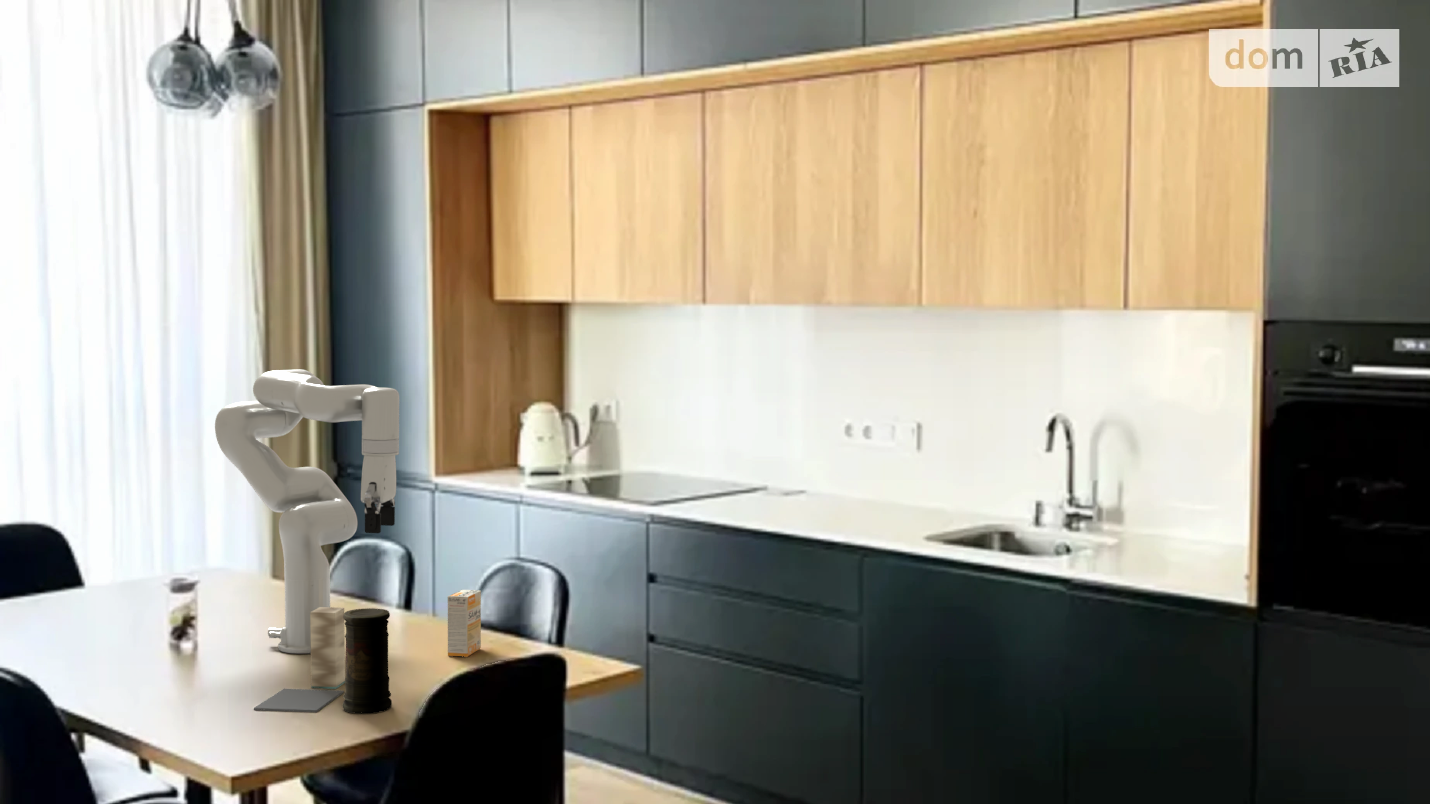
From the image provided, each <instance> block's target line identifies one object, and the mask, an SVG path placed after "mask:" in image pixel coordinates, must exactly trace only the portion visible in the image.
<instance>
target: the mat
mask: <svg viewBox="0 0 1430 804" xmlns="http://www.w3.org/2000/svg"><path fill="white" fill-rule="evenodd" d="M344 693H345V690H343V689H342V690H337V689H314V688H310V689H309V688H308V689H307V688H282V689H280V691H278V692H276V693H275V694H273V695H271V696H270V697H269V698H267V699H265V700H263V701H262V702H260V703H259V704H258V705H256V706H255V707H253V710H254V711H265V712H266V711H271V712H272V711H273V712H292V713H293V712H295V713H296V712H299V713H318V712H319V711H321V710H323V708H324V707H326V706H327V705H329V704H330V703H332V702H333V701H335V700H336V699H338V698H339V697H340V696H341V695H344Z"/></svg>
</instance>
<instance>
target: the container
mask: <svg viewBox="0 0 1430 804" xmlns="http://www.w3.org/2000/svg"><path fill="white" fill-rule="evenodd" d="M390 615H391V613H390V610H388V609H382V608H376V607H375V608H373V607H372V608H368V607H367V608H366V607H365V608H357V609H351V610H347V611H344V615H343V619H344V626H345V683H344V684H345V688H344V689H345V690H344V693H343V694H342V695H343V696H342V697H343V699H344V700H343V702H342V705H341V706H342V709H343V710H344V711H345V712H347V713H351V714H354V715H355V714H357V715H359V714H360V715H369V714H377V713H382V712H386V711H388V710H390V709H391V708H392V705H393V701H392V699H391V696H392V692H391V691H390V676H389V632H388V629H389V628H388V625H389V619H390V617H391V616H390Z"/></svg>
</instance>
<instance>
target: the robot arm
mask: <svg viewBox="0 0 1430 804" xmlns="http://www.w3.org/2000/svg"><path fill="white" fill-rule="evenodd" d="M252 392H253V393H252V394H253V396H254V397H255V400H248V401H239V402H234V403H231V404H228V405H226V406H224V407H223V408H221V409H220V410H219V411H218V413H217V414H216V417H215V423H214V430H215V438H216V440H217V441H216V442H217V444H218V445H219V448H220V451H222V453H223V455H225V457H226V458H227V459H228V461H229V462H230V463H232V465H233V466H234V467H235V468H237V470H238V471H239V472H240V473H241V474H242V476H243V477H244V478H245V479H246V481H247V482H248V483H249V485H250V486H251V488H252V489H253V490H254V491H255V493H256V494H257V495H258V497H259V498H260V499H261V501H262V503H264V504H265V506H266V507H267V508H268V509H269V510H271V511H272V512H274V513H281V515H280V517H279V520H278V533H279V538H280V542H281V547H282V553H283V554H282V555H283V565H284V567H283V570H284V571H283V573H284V574H283V575H284V626H283V627H282V628H279V627H269V628H268V630H267V636H268V637H269V639H279V640H280V641H279V642H278V645H277V647H278V651H280V652H283V653H288V654H311V630H310V612H312V611H313V610H315V609H317V608H319V607H331V577H330V576H331V574H330V571H331V570H330V569H331V568H330V563H329V560H328V557H327V556H326V554H325V553H324V551H323V548H322V547H321V546H324V545H330V544H331V545H332V544H337V543H342V542H344V541H348V540H349V539H351V538H352V537H353V536H354V535H355V533H356V532H357V529H358V516H357V513H356V510H355V509H354V507H353V506H352V504H351V502H350V501H349V500H348V499H347V497H346V496H345V495H344V493H343V492H342V490H341V489H340V488H339V487H338V485H337V484H336V483H335V482H334V481H333V479H332V478H331V476H329V474H328V473H326V472H325V471H324V470H322V469H321V468H318V467H315V466H303V467H302V466H300V467H291V466H288V465H287V464H286V463H285V462H284V461H283V460H282V459H281V458H280V456H279V455H278V453H277V452H275V451H274V450H273V449H272V448H271V447H270V446H268V445H266V444H265V443H262V442H261V441H259V439H267V438H278V437H283V436H285V435H287V434H289V433H290V432H291V431H293V430H294V428H296V426H297V425H298V424H299V422H300V421H301V420H302V419H303V418H305V419H308V420H312V421H319V422H325V423H340V422H353V421H354V422H356V421H357V422H358V421H361V455H362V456H363V461H362V470H361V481H360V482H361V485H360V501H361V503H363V504H364V533H366V534H380V533H381V532H382V526H390V527H391V526H392V527H393V526H395V521H396V520H395V517H396V516H395V515H396V513H395V511H396V510H395V509H396V506H395V505H396V501H395V497H396V494H397V464H396V462H397V461H396V456H398V455H400V393H399V391H398V390H397V389H395V388H393V387H377V386H375V385H371V384H364V383H363V384H346V385H345V384H343V385H324V382H323V381H322V380H321V379H320V378H318V377H317V376H315V375H314V373H312V372H311V371H308V370H306V369H299V368H298V369H280V370H279V369H276V370H270V371H265V372H263V373H262V374H260V375H259V376H258V377H257V378H256V379H255V380H254V383H253V387H252Z"/></svg>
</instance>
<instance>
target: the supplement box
mask: <svg viewBox="0 0 1430 804" xmlns="http://www.w3.org/2000/svg"><path fill="white" fill-rule="evenodd" d="M481 598H482V591H481V590H478V589H461V590H458V591H456V592H454V593H452V594H450V595H447V656H448V657H453V656H462V657H461V658H469V656H471V655H472V654H474V653H476V652H477V651H479V650H481V649H480V648H482V647H481V646H482V645H481V644H482V643H481V642H482V641H481V640H482V635H481V634H482V633H481V631H482V630H481V629H482V628H481V627H482V623H481V621H482V615H481V614H482V611H481V610H482V608H481V605H482V599H481ZM463 656H464V657H463Z"/></svg>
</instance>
